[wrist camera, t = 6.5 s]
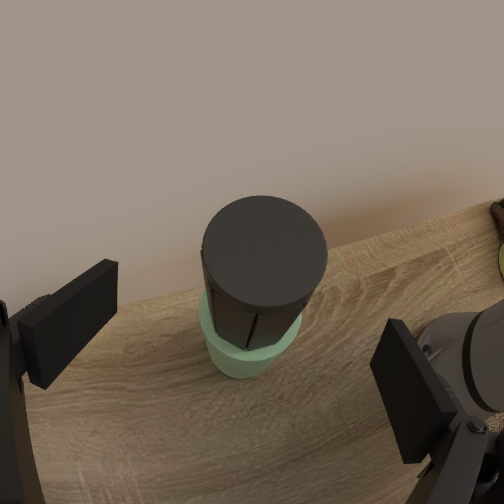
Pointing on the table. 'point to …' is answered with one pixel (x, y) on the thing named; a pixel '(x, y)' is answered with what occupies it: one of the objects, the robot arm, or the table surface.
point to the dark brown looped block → (498, 211)
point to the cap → (260, 268)
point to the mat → (501, 259)
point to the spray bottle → (236, 359)
